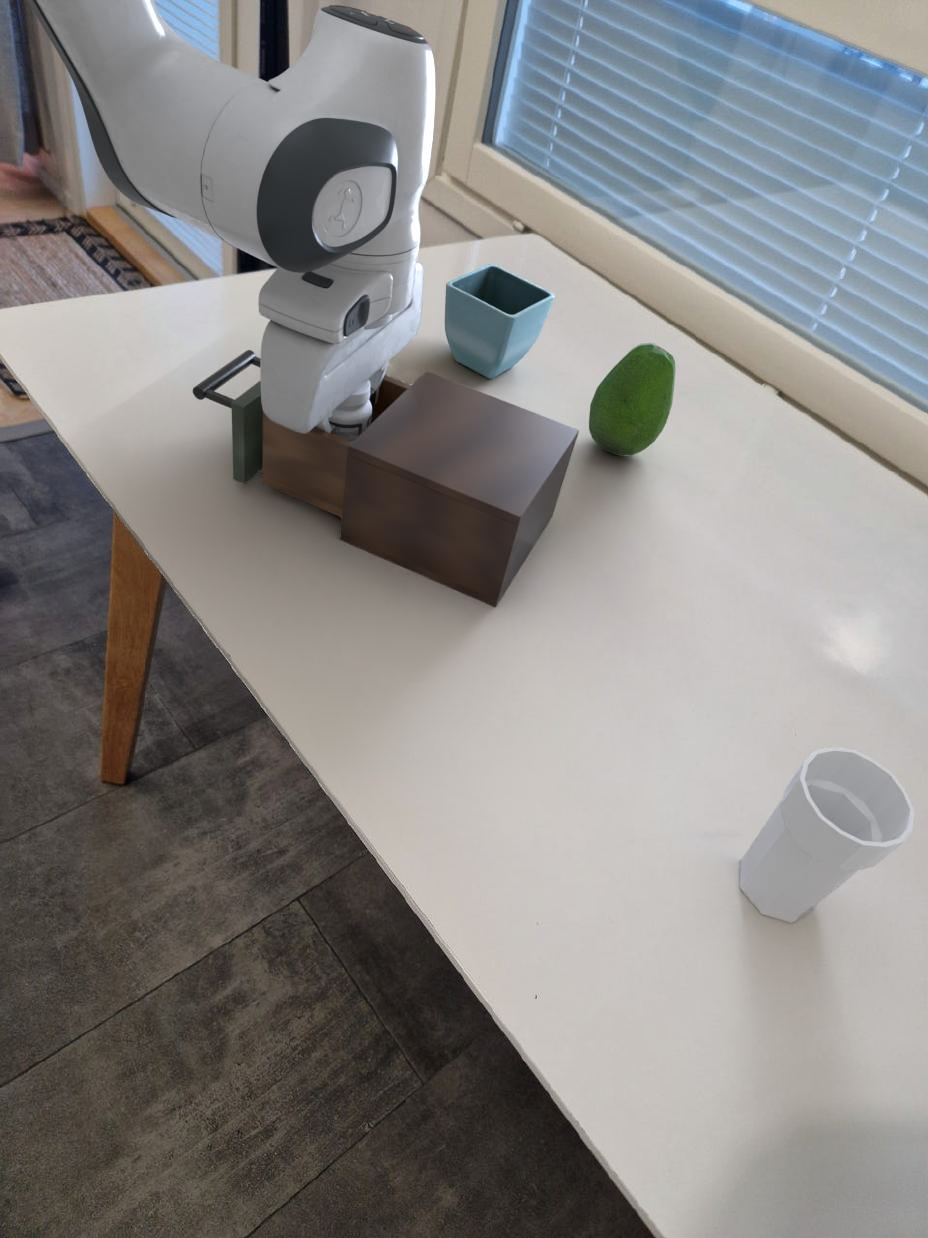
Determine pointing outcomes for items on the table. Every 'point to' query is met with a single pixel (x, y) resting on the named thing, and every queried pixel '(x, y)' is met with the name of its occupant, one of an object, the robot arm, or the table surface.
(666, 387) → the avocado
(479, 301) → the flower pot
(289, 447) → the drawer
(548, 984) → the table surface
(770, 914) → the cup
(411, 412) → the cabinet
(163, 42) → the robot arm
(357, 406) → the pill bottle
